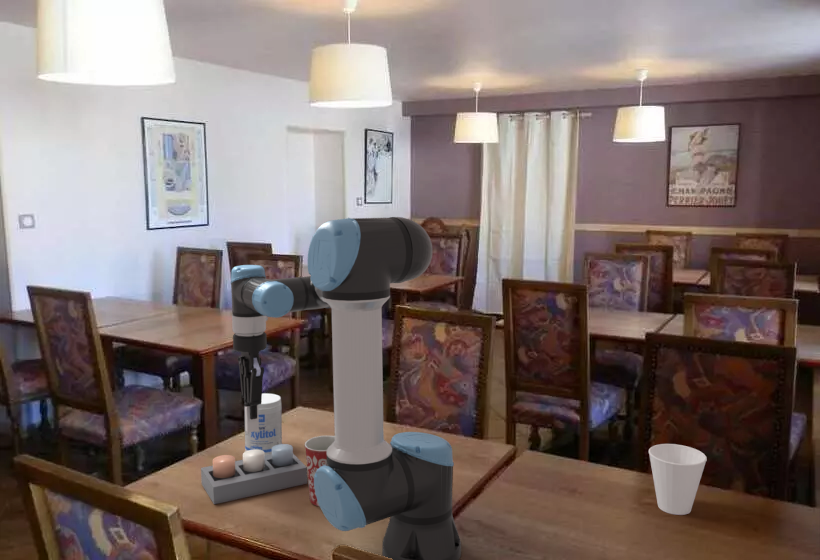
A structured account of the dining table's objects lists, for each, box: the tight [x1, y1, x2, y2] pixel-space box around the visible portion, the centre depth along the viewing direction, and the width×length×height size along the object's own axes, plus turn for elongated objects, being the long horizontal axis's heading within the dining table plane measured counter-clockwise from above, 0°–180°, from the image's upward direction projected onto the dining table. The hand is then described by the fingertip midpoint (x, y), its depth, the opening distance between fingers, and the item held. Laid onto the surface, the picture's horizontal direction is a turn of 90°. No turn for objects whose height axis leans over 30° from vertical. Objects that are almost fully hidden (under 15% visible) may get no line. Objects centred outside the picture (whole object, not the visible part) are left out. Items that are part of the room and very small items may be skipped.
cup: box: [648, 443, 707, 516], centre depth 150 cm, size 12×12×12 cm
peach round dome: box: [212, 454, 236, 478], centre depth 159 cm, size 5×5×4 cm
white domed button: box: [242, 449, 265, 472], centre depth 162 cm, size 5×5×4 cm
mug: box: [304, 435, 335, 507], centre depth 155 cm, size 13×9×14 cm
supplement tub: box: [244, 393, 283, 455], centre depth 181 cm, size 10×10×15 cm
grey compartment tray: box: [200, 453, 308, 505], centre depth 163 cm, size 12×22×4 cm, turn 119°
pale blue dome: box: [272, 443, 294, 466], centre depth 166 cm, size 5×5×4 cm
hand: (252, 430), depth 162 cm, fingers closed
